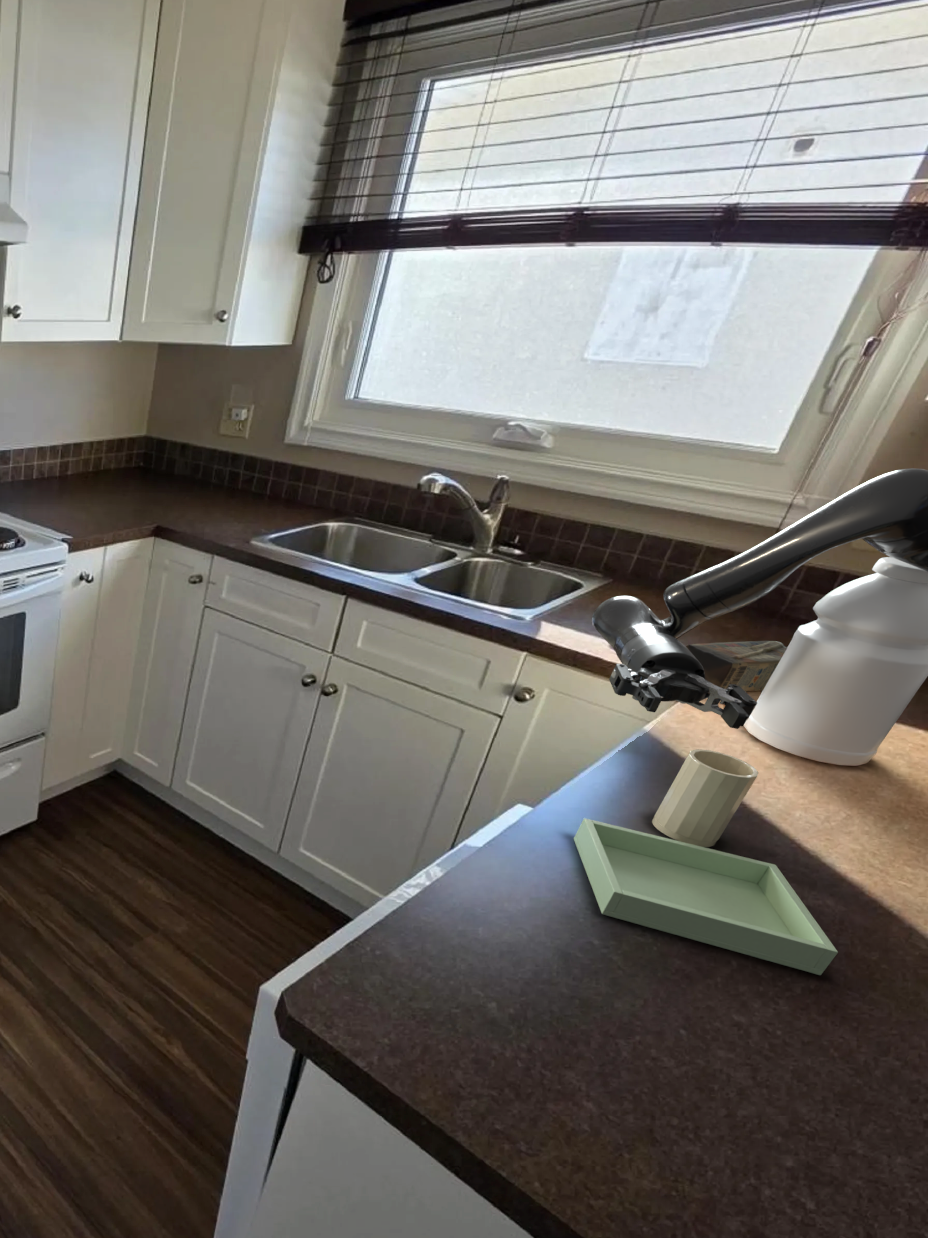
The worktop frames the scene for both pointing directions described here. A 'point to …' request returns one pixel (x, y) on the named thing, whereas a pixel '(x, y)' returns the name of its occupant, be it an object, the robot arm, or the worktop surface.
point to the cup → (704, 797)
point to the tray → (701, 895)
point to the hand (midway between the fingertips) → (696, 713)
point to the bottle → (849, 669)
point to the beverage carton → (739, 662)
